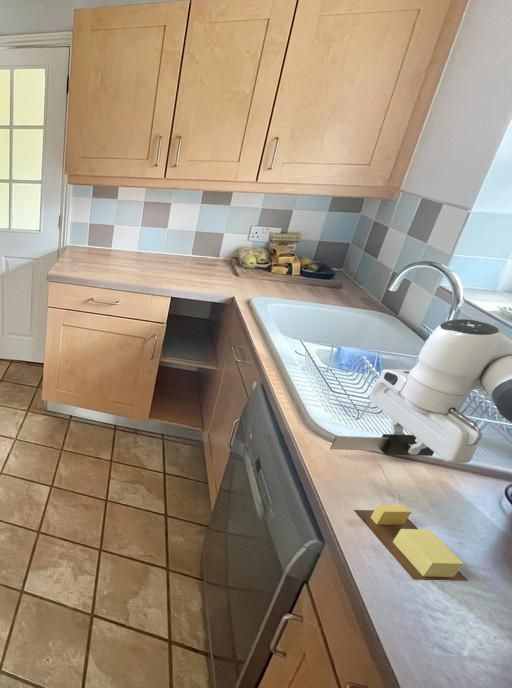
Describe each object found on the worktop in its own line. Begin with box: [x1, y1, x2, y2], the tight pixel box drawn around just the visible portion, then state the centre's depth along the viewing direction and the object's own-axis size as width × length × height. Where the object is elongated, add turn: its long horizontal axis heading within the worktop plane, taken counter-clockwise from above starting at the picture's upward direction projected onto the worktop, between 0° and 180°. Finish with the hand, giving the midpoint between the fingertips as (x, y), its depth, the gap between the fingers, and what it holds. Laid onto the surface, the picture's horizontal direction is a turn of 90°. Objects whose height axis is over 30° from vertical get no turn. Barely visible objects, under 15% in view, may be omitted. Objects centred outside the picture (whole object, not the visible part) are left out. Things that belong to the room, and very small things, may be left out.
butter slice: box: [371, 504, 412, 525], centre depth 76 cm, size 5×2×4 cm, turn 90°
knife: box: [329, 433, 435, 457], centre depth 90 cm, size 21×2×4 cm, turn 89°
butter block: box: [393, 528, 465, 577], centre depth 70 cm, size 5×6×4 cm
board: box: [353, 509, 470, 582], centre depth 73 cm, size 9×13×2 cm
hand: (402, 445), depth 90 cm, fingers closed on knife, 2 cm apart
